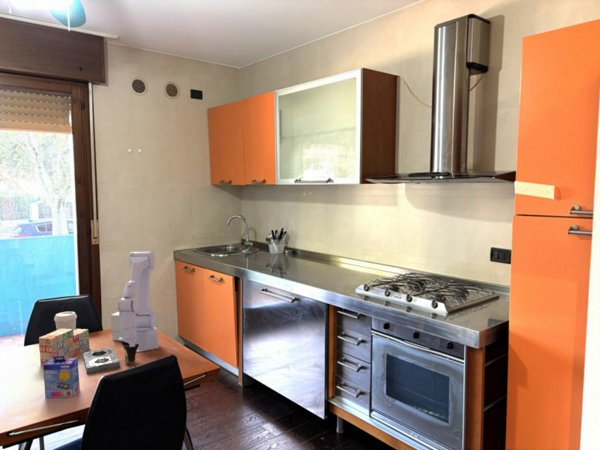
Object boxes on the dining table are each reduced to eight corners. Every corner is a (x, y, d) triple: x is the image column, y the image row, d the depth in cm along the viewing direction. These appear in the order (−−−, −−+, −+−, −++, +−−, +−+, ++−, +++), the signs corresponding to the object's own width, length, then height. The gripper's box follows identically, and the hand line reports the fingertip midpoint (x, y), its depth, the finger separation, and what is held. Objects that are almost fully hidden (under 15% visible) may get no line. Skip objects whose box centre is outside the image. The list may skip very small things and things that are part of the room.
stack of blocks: (78, 348, 202) (76, 321, 201) (90, 349, 200) (88, 322, 199) (40, 366, 181) (38, 337, 180) (52, 367, 180) (51, 338, 179)
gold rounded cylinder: (134, 360, 185) (133, 344, 185) (136, 363, 182) (135, 347, 181) (124, 362, 183) (123, 346, 183) (126, 365, 180) (125, 349, 179)
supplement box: (134, 336, 217) (133, 311, 216) (125, 341, 210) (124, 315, 209) (121, 335, 218) (120, 310, 217) (111, 340, 211) (110, 314, 210)
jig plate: (113, 352, 195) (112, 347, 194) (119, 367, 178) (119, 361, 178) (83, 358, 188) (82, 352, 188) (87, 374, 172) (86, 367, 172)
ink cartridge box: (44, 398, 152) (41, 358, 151) (51, 391, 157) (49, 352, 156) (73, 397, 153) (71, 356, 152) (80, 390, 158) (78, 350, 157)
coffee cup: (82, 344, 207) (81, 312, 206) (62, 350, 199) (60, 317, 198) (71, 340, 212) (69, 310, 211) (51, 346, 204) (49, 314, 203)
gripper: (115, 323, 186) (117, 355, 187) (121, 333, 173) (122, 366, 174) (133, 320, 189) (134, 351, 190) (139, 329, 177) (141, 362, 178)
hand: (130, 358), depth 182 cm, fingers open, 6 cm apart
